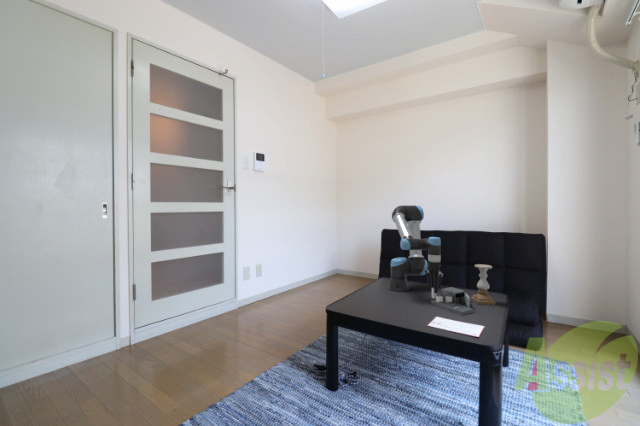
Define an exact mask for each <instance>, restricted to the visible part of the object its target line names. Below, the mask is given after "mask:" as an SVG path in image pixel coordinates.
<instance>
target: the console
mask: <svg viewBox="0 0 640 426" xmlns="http://www.w3.org/2000/svg"><path fill="white" fill-rule="evenodd" d="M430 304H431V305H432V306H436V307H439V308H441V309H444V310H447V311H450V312H452V313H456V314H458V315H461V316H464V315H468V314H472V313H474V308H472V307H468V306H467V305H466V306H465V305H463V304H457V303H453V302H446V300H444V299H443V302H437V301H436V299H434V300H430Z"/></svg>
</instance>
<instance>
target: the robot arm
mask: <svg viewBox="0 0 640 426" xmlns="http://www.w3.org/2000/svg"><path fill="white" fill-rule="evenodd" d="M424 217H425V214H424V209H423V208H422V206H420V205H415V204H413V205H403V204H402V205H399V206H397V207H395V208H394V209H393V211H392V213H391V220H392V222H393V223H395V225H396V229H397V231H398V234H399V236H400V238H401V239H400V243H399V246H400V249H401V250H403V251H404V250H405V251H409V256H408V257H395V258H392V259H391V260H390V279H389V283H388V290H390V291H395V292H408V291H409V290H410V286H409V283H408V279H407V278H408V276H424V275H425V276H426V281H427V285H428V287H430V292H431V299H436V296H437V294H438V289H440V288H441V285H442V281H443V277H444V275H445V274H444V273H442V271H441V264H442V263H441V258H442V257H441V255H442V254H441V253H442V252H441V251H442V250H441V249H442V248H441V247H442V241H441V238H440V237H437V236H430V237H428V238H421V227H420V226H421V223H422V221H423V220H424ZM422 251H427V260H428V261H427V260H426V259H425V256H424V255H423V253H422Z"/></svg>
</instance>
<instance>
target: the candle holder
mask: <svg viewBox="0 0 640 426" xmlns="http://www.w3.org/2000/svg"><path fill="white" fill-rule="evenodd" d="M474 267H475V268H478V270H479V272H480V273H479V274H478V277H479V278H480V279H479V280H478V282H477V284H476V288H477V289H478V290H477V293H476V294H472V296H471V297H470V300H472V301H473V302H474V303H475V304H477V305H486V306H487V305H488V306H489V305H491V306H496V301H495V300H494V298H493V297H491V296H490V295H489V291H488V290H489V289H490V284H489V282H488V281H487V278H488V277H489V276H488V273H487V272H488V270H491V269H493V266H492V265H490V264H480V263H477V264H474Z"/></svg>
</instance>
